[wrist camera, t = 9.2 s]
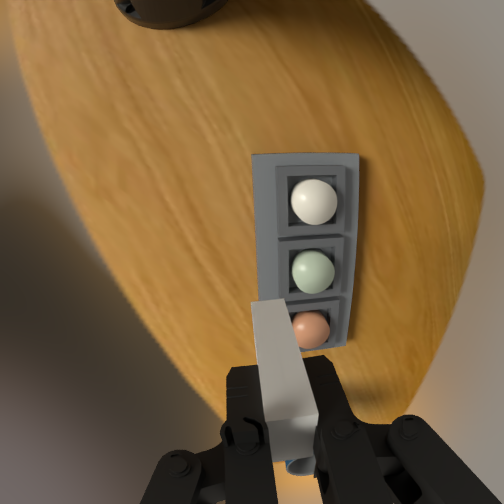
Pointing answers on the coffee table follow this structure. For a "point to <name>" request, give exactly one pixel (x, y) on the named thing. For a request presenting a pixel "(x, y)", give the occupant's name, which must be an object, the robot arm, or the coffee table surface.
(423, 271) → the coffee table surface
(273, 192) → the panel
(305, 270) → the button sage
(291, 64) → the coffee table surface
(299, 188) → the button cream
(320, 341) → the button rust
